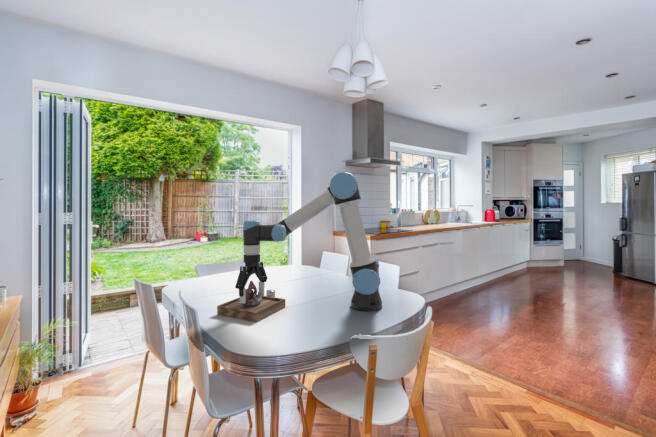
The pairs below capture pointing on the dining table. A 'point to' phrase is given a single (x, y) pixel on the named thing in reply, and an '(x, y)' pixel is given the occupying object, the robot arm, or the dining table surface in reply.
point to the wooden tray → (251, 309)
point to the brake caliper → (252, 296)
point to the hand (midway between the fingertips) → (252, 299)
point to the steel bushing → (270, 293)
